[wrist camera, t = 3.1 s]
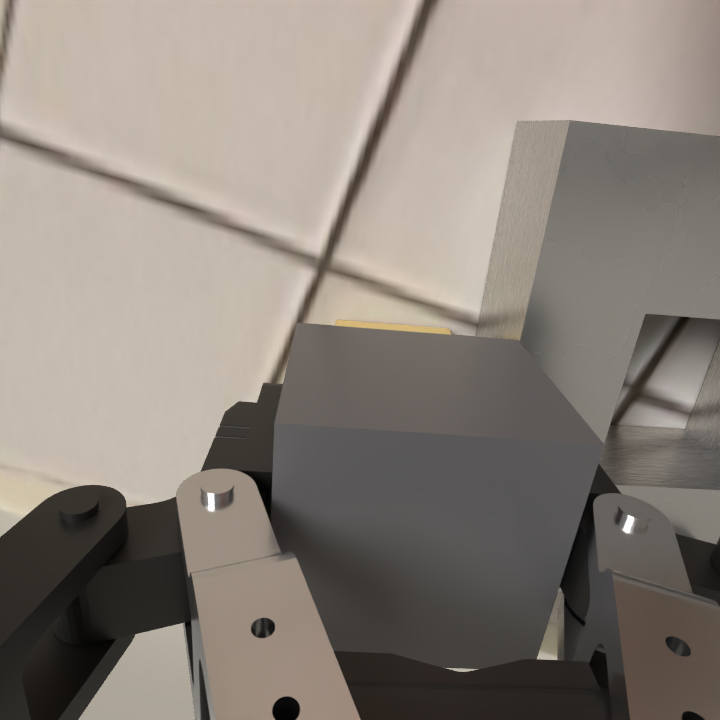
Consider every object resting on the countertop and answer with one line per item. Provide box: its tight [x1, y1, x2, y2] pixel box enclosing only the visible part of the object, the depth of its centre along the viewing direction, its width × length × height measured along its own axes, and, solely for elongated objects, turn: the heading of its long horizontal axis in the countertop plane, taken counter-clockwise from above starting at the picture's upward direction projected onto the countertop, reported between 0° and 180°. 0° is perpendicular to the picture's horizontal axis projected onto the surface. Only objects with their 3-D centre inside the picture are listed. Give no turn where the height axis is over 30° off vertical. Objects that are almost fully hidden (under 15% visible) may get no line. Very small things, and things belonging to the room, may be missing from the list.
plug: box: [271, 320, 604, 669], centre depth 12 cm, size 5×5×7 cm
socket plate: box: [476, 120, 720, 592], centre depth 14 cm, size 10×12×4 cm
